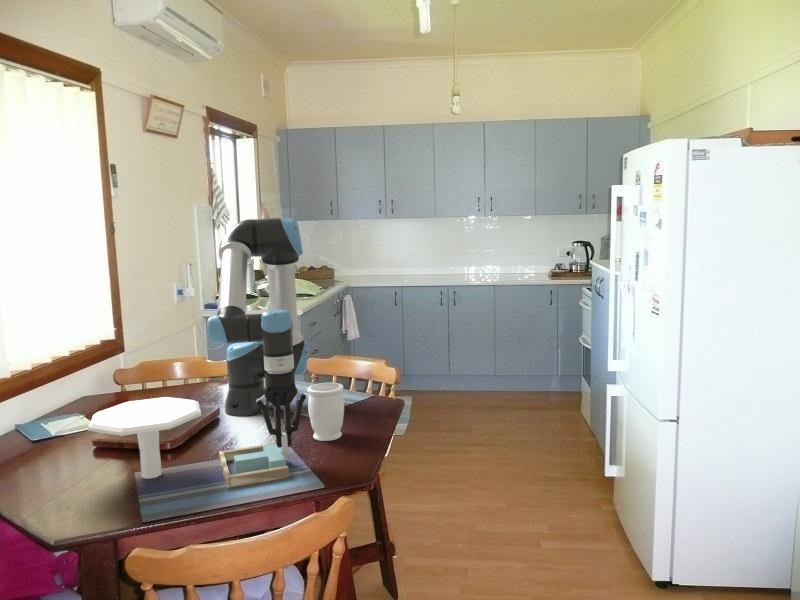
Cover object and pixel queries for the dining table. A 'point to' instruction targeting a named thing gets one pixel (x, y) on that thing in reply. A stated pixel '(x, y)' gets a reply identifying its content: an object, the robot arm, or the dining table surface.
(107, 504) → the dining table surface
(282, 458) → the t block
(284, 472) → the dock
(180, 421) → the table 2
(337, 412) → the jar
